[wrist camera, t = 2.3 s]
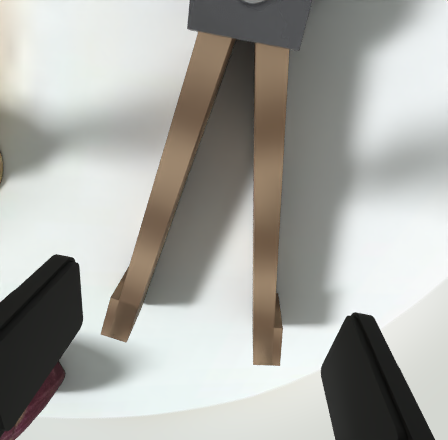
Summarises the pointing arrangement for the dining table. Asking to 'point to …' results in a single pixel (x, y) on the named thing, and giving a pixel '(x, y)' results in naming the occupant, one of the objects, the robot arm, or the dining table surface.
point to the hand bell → (1, 167)
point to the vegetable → (37, 402)
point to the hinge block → (252, 20)
